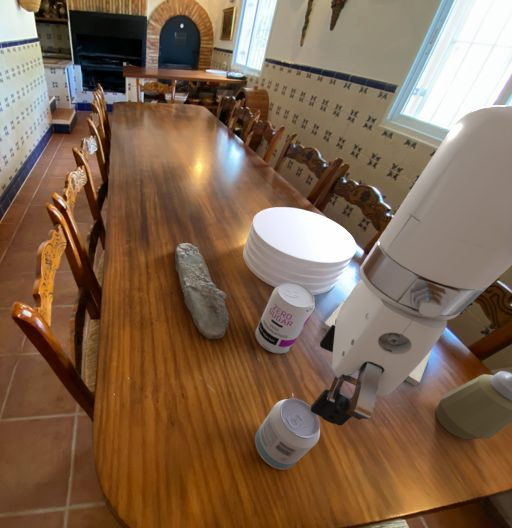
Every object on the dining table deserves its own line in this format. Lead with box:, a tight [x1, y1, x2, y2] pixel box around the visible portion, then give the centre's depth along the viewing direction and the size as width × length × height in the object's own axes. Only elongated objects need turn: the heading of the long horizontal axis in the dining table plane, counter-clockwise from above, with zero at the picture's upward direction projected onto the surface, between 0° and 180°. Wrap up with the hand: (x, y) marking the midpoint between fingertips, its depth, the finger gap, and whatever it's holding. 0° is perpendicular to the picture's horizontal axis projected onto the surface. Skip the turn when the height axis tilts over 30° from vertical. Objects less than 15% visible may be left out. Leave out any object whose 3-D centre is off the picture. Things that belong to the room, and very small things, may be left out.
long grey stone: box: [174, 242, 230, 340], centre depth 78 cm, size 35×5×10 cm
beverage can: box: [254, 398, 321, 470], centre depth 47 cm, size 7×7×12 cm
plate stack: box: [242, 206, 357, 296], centre depth 88 cm, size 28×28×12 cm
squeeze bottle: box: [435, 370, 512, 440], centre depth 50 cm, size 8×8×18 cm
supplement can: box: [254, 282, 316, 354], centre depth 63 cm, size 8×8×15 cm
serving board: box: [322, 299, 433, 387], centre depth 70 cm, size 20×12×2 cm, turn 43°
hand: (328, 380), depth 36 cm, fingers open, 9 cm apart
